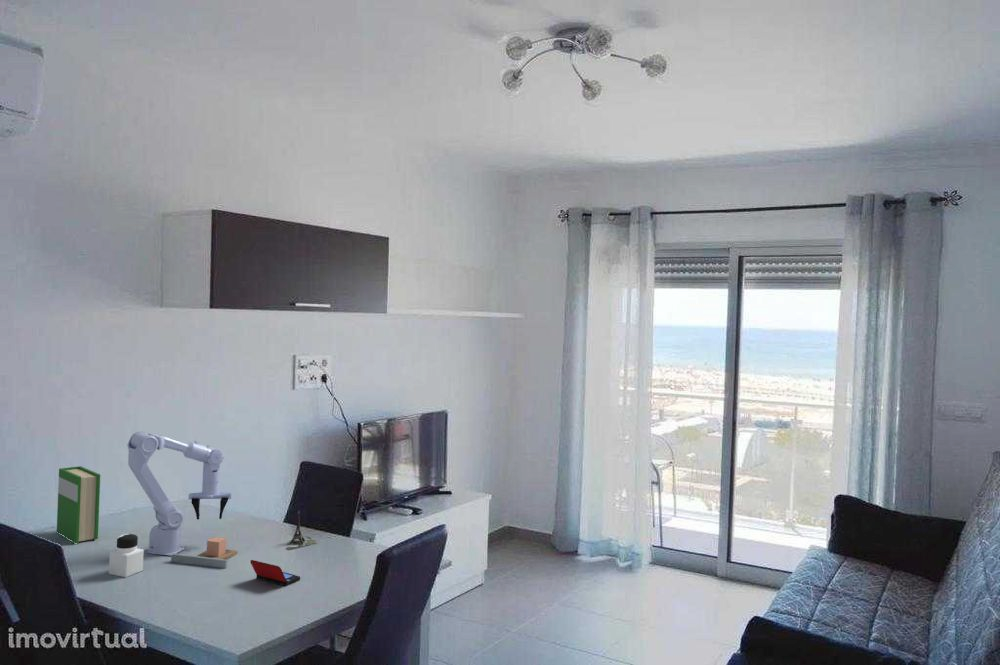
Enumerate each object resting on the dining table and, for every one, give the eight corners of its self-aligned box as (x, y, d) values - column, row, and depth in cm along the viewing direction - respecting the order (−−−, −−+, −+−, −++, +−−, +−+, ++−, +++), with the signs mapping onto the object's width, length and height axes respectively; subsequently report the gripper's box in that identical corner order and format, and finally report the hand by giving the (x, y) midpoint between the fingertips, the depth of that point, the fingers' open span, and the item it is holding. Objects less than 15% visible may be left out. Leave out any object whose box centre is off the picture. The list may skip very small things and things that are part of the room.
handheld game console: (301, 580, 242) (302, 557, 242) (278, 590, 232) (279, 566, 232) (272, 572, 247) (273, 550, 247) (248, 582, 238) (249, 559, 238)
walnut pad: (195, 559, 255) (195, 556, 255) (211, 550, 265) (211, 547, 265) (221, 562, 254) (222, 559, 254) (237, 553, 264) (237, 550, 263)
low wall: (171, 561, 252) (171, 554, 252) (173, 560, 253) (173, 553, 253) (225, 568, 249) (225, 560, 248) (227, 567, 250) (227, 559, 249)
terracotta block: (206, 555, 257) (207, 540, 257) (213, 551, 262) (214, 537, 262) (218, 556, 256) (219, 542, 256) (225, 552, 261) (226, 538, 261)
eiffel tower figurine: (288, 551, 270) (290, 515, 269) (272, 545, 276) (274, 509, 276) (322, 543, 281) (324, 508, 281) (306, 537, 288) (307, 502, 287)
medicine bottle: (143, 570, 242) (144, 534, 242) (125, 577, 236) (127, 540, 235) (126, 567, 245) (127, 531, 244) (108, 574, 238) (109, 536, 238)
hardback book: (97, 540, 270) (100, 474, 269) (75, 544, 264) (78, 477, 264) (78, 529, 281) (80, 466, 281) (56, 533, 276) (59, 468, 275)
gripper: (188, 484, 266) (186, 522, 266) (231, 483, 270) (229, 521, 270) (190, 479, 272) (188, 516, 273) (232, 479, 276) (231, 515, 277)
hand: (209, 518), depth 272 cm, fingers open, 7 cm apart
